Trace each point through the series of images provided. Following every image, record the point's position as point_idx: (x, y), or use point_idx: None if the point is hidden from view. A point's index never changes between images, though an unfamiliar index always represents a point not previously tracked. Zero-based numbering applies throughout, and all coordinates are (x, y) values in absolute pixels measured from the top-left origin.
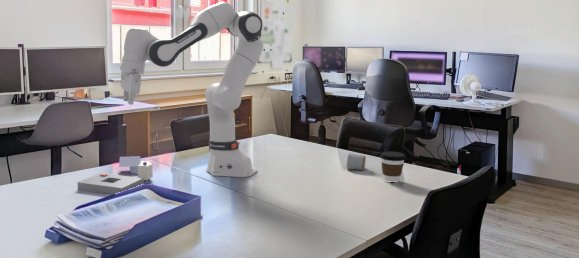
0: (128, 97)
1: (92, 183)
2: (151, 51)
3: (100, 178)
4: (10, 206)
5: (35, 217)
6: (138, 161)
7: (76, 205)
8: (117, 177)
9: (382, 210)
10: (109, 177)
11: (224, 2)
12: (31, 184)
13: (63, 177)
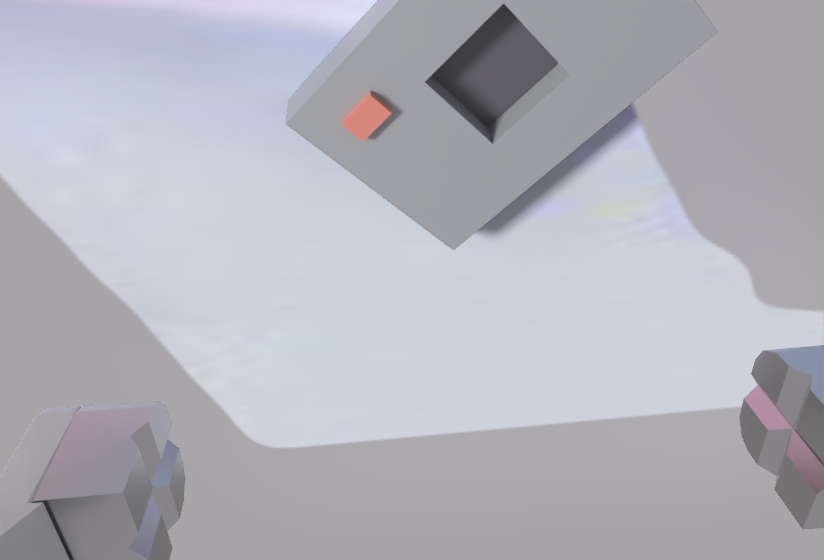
0: (125, 496)
1: (517, 184)
2: None
3: (427, 136)
4: (553, 413)
5: (731, 348)
6: None
7: (694, 232)
8: (448, 28)
9: None
10: (425, 81)
11: None
12: (274, 384)
13: (174, 281)
